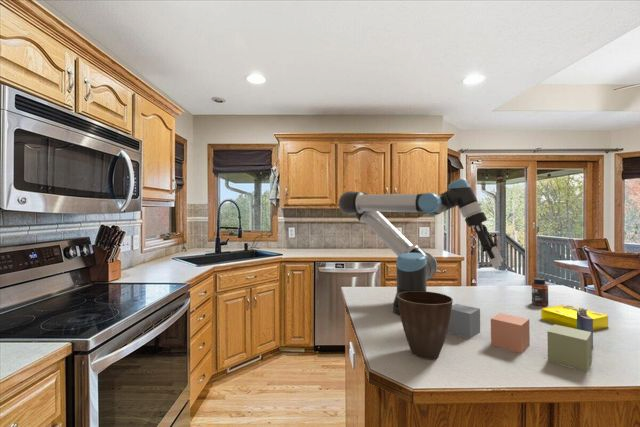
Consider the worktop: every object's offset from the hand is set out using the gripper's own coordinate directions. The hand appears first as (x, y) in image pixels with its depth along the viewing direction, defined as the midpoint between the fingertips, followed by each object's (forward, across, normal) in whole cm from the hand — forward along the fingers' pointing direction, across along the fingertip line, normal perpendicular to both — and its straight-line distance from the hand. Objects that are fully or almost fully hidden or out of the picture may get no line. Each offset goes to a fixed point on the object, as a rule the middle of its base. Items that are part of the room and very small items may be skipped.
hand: (498, 264), depth 118 cm
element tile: (+28, +8, -12) cm, 32 cm away
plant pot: (+13, -48, +23) cm, 55 cm away
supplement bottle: (+24, +29, -4) cm, 38 cm away
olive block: (+26, -32, -8) cm, 42 cm away
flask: (+28, -14, -13) cm, 34 cm away
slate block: (+15, -25, +17) cm, 33 cm away
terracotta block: (+21, -28, +4) cm, 35 cm away
